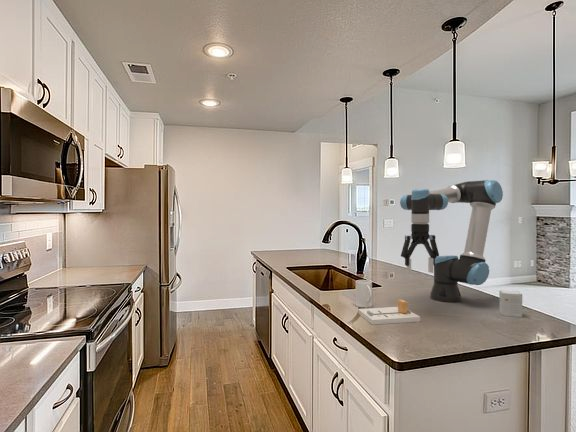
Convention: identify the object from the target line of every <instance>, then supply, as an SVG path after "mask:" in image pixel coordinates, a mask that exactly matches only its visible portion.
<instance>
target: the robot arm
mask: <svg viewBox="0 0 576 432" xmlns="http://www.w3.org/2000/svg"><path fill="white" fill-rule="evenodd" d="M503 193H504V191H503V188H502V185H501V183H500V182H498V181H497V180H495V179H485V180H483V179H482V180H472V181H471V180H470V181H464V182H460V183H456V184H452V185H448V186H447V187H446V188H441V189H437V190H429V189H428V188H414V189H412V190H411V194H405V195H403V196H401V198H400V199H399V200H400V201H399V203H400V207H401V208H402V209H403V210H406V211H411V217H410V218H411V219H410V220H411V223H412V224H411V225H410V230H411V234H410V235H404V242H403V246H402V250H401V253H400V257H402V258H404V265H405V266H406V273H407V274H410V275H411V274H412V258H411V256H412V255H413V252H414V251H415V249H416V247H417V246H418V245H423V247H424V248H425V249H426V252H427V253H428V256H429V257H428V260H427V261H428V273H433V286H432V288H431V291H430V295H429V297H430V299H433V300H434V301H439V302H445V303H456V302H460V301H462V294H461V291H460V288H459V286H458V285H459V284H458V283H462V284H468V285H471V286H473V285H475V286H480V285H483V284H484V283H486V281H487V279H488V278H489V275H490V269H489V268H490V266H489V264H488V263H486V261H487V260H486V258H485V257H484V252H485V247H486V241H487V237H488V235H487V234H488V230H489V225H490V224H489V223H490V220H491V219H490V218H491V213H492V210H493V209H495V208H496V205H497V204H499V203H500V202H501V201H503V196H504V194H503ZM449 203H450V204H456V203H457V204H458V203H461V204H464V203H465V204H469V206H471V208H472V209H471V214H470V218H469V219H470V220H469V224H468V229H467V230H468V231H467V237H466V241H465V246H464V250H463V253H461V254H459V256H458V255H440V253H439V250H438V246H437V241H436V235H435V234H429V232H430V224H429V223H430V211H441V210H442V211H443V210H445V209H447V207H448V204H449ZM429 242H430V243H429Z"/></svg>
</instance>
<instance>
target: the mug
mask: <svg viewBox="0 0 576 432" xmlns="http://www.w3.org/2000/svg"><path fill="white" fill-rule="evenodd" d="M372 300H373V281H372V280H369V279H368V280H365V279H358V280H355V303H354V305H355V307H356V306H357V307H359V308H372V307H373V301H372Z"/></svg>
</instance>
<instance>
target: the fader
mask: <svg viewBox="0 0 576 432" xmlns="http://www.w3.org/2000/svg"><path fill="white" fill-rule="evenodd" d="M397 307H398V311H399V312H401V313H407V309H408V301H406V300H404V299H397Z"/></svg>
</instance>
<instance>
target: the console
mask: <svg viewBox="0 0 576 432" xmlns="http://www.w3.org/2000/svg"><path fill="white" fill-rule="evenodd" d="M357 314H358V315H359V316H361V317H362V318H363V319H364V320H366V321H367V322H368V323H370V324H371V325H385V324H387V325H388V324H401V323H402V324H403V323H416V322H417V323H418V322H421V316H419V314H416V313H414V312H412V311H411V310H410V309H408V308H407V313H401V312H399V311H398V306H391V307H390V306H388V307H387V306H386V307H374V308H372V307H368V308H357Z"/></svg>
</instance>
